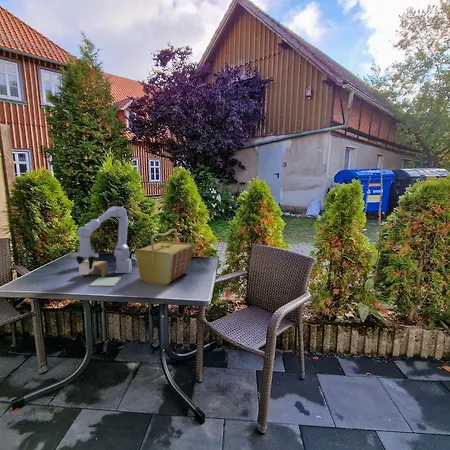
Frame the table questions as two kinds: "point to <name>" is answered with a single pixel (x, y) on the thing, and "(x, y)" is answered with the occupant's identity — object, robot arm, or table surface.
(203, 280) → the table surface
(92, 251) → the coffee box
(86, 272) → the cream block
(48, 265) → the table surface
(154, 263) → the picnic basket
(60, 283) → the table surface
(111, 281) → the pale green panel
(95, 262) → the wooden box
